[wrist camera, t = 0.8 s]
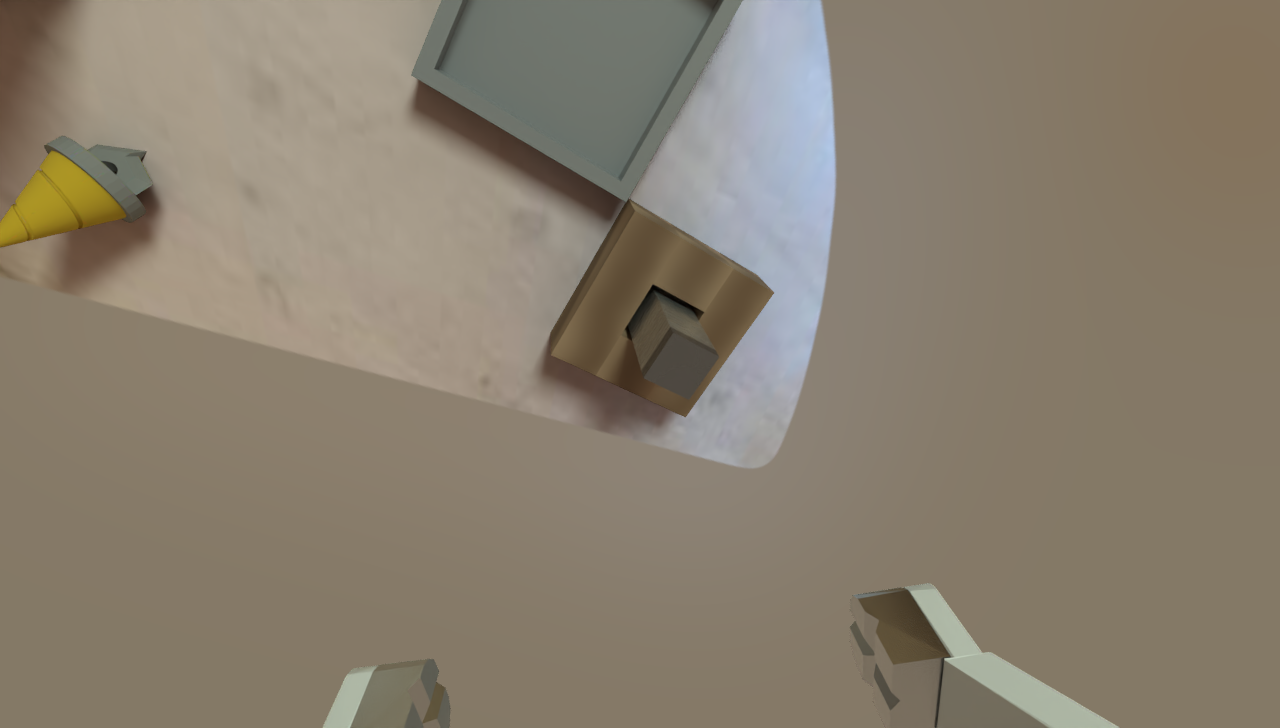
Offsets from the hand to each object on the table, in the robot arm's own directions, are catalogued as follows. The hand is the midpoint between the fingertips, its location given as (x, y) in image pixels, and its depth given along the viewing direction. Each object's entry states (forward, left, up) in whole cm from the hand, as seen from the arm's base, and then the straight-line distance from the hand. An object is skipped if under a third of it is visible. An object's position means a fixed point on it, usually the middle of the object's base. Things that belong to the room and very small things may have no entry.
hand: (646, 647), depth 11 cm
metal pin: (+9, -3, -35) cm, 37 cm away
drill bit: (-26, -13, -36) cm, 46 cm away
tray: (-5, +11, -35) cm, 37 cm away
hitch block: (+9, -3, -35) cm, 36 cm away
